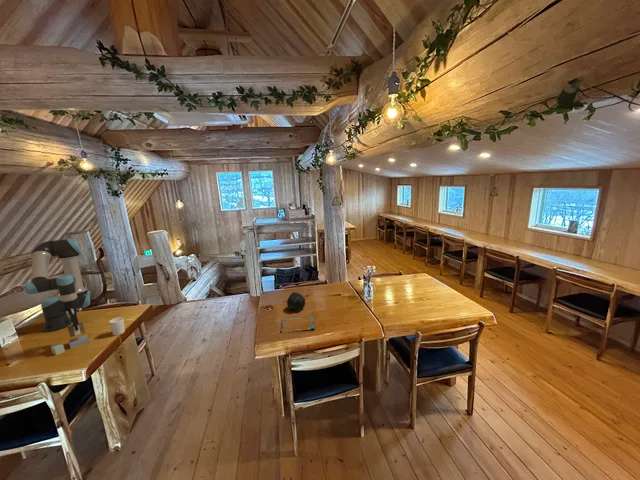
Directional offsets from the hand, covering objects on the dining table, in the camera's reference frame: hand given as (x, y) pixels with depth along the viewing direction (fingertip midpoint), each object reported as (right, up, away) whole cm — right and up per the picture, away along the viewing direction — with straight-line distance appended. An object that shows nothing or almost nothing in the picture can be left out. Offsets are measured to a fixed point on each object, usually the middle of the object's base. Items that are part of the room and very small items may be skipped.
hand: (77, 333), depth 166 cm
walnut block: (0, 0, 0) cm, 0 cm away
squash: (+140, +5, +40) cm, 145 cm away
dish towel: (+143, -1, +14) cm, 144 cm away
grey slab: (0, -8, +2) cm, 8 cm away
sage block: (-5, -10, -7) cm, 13 cm away
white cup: (+17, -5, +13) cm, 22 cm away
